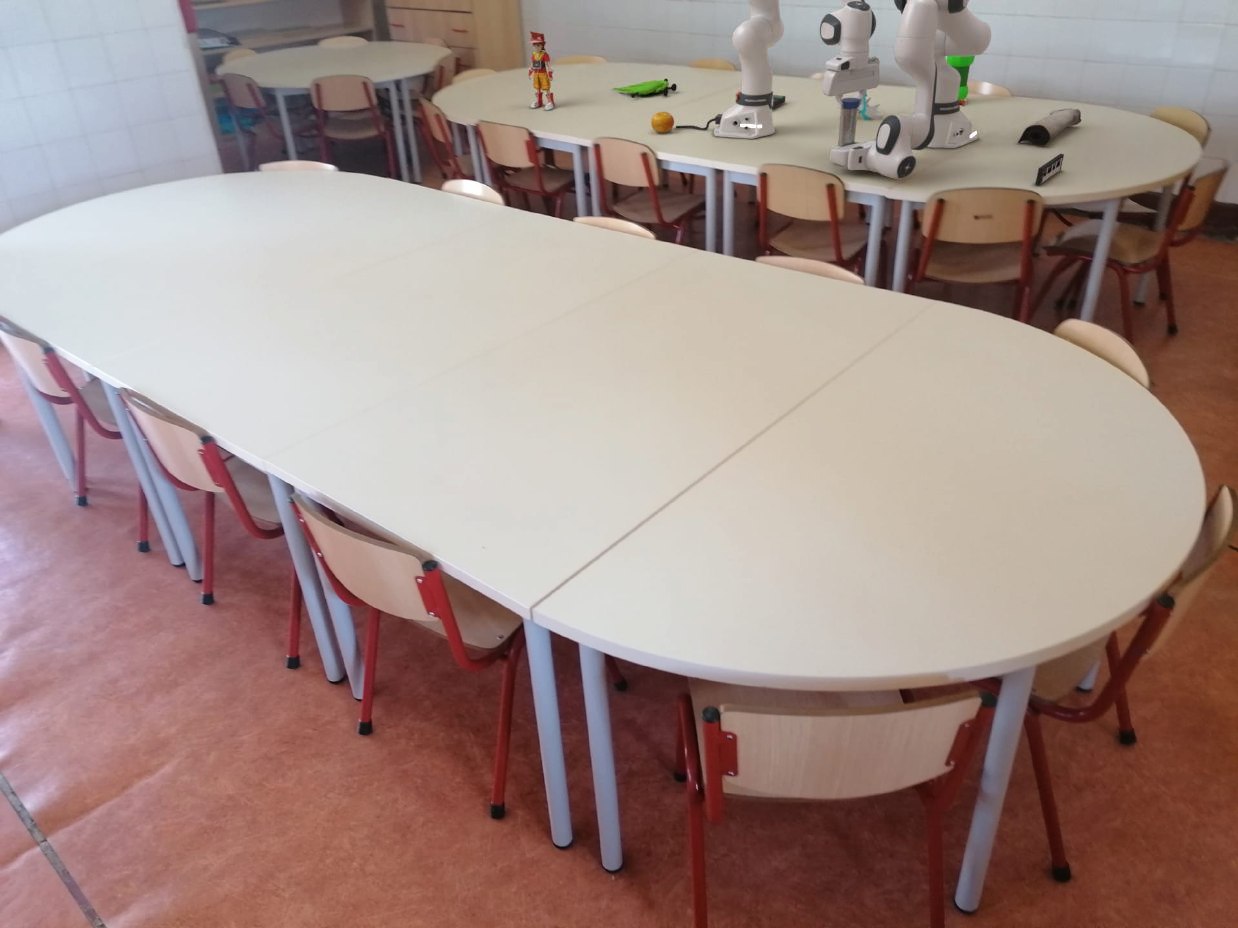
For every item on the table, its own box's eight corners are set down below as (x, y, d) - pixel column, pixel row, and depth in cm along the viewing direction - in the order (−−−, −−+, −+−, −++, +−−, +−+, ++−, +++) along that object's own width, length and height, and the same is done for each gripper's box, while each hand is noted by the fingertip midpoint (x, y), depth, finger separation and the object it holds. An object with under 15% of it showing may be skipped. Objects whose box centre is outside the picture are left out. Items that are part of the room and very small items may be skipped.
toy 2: (686, 85, 398) (631, 84, 414) (685, 72, 395) (629, 72, 411) (651, 104, 381) (596, 103, 397) (650, 92, 378) (594, 91, 394)
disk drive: (770, 111, 358) (785, 102, 368) (771, 104, 356) (785, 95, 366) (747, 109, 362) (762, 100, 372) (747, 102, 361) (762, 93, 371)
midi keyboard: (1039, 185, 269) (1043, 168, 266) (1035, 184, 270) (1038, 168, 267) (1060, 170, 279) (1064, 154, 277) (1056, 169, 280) (1060, 153, 277)
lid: (850, 110, 284) (851, 103, 283) (836, 107, 288) (836, 100, 287) (863, 106, 287) (863, 99, 286) (848, 103, 291) (848, 96, 290)
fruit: (644, 124, 337) (655, 105, 334) (651, 127, 345) (662, 108, 342) (662, 136, 336) (673, 117, 333) (668, 139, 344) (680, 120, 341)
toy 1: (525, 109, 381) (517, 32, 364) (534, 104, 388) (527, 28, 371) (550, 110, 377) (543, 32, 360) (559, 105, 384) (553, 28, 367)
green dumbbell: (973, 101, 354) (984, 32, 339) (955, 106, 349) (966, 36, 335) (952, 97, 361) (962, 29, 346) (934, 102, 356) (944, 33, 342)
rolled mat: (1047, 113, 322) (1072, 96, 314) (1061, 134, 323) (1087, 117, 314) (1013, 137, 305) (1039, 118, 297) (1028, 159, 305) (1054, 142, 297)
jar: (845, 166, 295) (851, 104, 283) (833, 163, 298) (838, 101, 287) (855, 163, 297) (861, 101, 286) (843, 160, 301) (848, 98, 289)
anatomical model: (845, 88, 346) (871, 81, 345) (848, 116, 352) (873, 109, 351) (857, 98, 334) (883, 90, 333) (859, 126, 340) (885, 119, 339)
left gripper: (873, 54, 285) (868, 100, 293) (821, 63, 278) (818, 109, 286) (886, 57, 281) (881, 103, 289) (834, 66, 274) (830, 113, 281)
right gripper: (898, 139, 287) (869, 130, 297) (848, 151, 280) (820, 141, 290) (896, 159, 290) (867, 150, 301) (846, 171, 283) (818, 161, 293)
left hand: (849, 106), depth 287 cm, fingers closed on lid, 6 cm apart
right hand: (844, 146), depth 295 cm, fingers closed on jar, 5 cm apart
